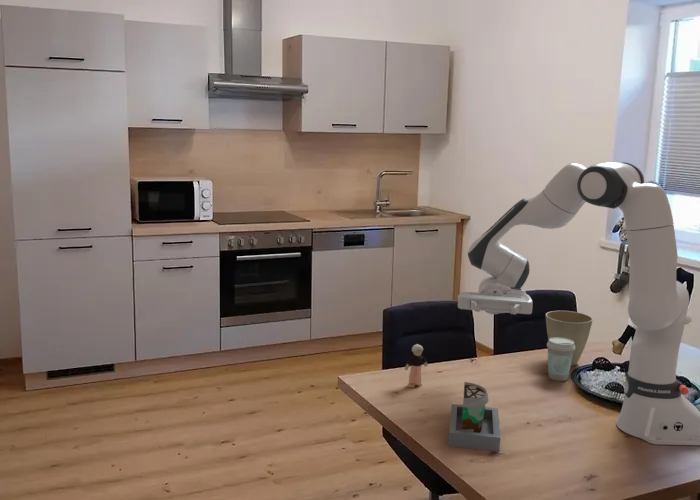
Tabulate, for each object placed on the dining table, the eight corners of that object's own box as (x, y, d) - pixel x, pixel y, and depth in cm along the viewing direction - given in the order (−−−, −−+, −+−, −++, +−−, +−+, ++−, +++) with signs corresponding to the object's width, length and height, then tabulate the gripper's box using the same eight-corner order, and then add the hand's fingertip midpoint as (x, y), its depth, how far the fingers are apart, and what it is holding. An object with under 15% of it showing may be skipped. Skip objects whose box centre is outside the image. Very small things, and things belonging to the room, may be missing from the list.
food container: (486, 440, 165) (489, 401, 163) (461, 437, 166) (463, 399, 164) (486, 420, 177) (488, 383, 175) (462, 417, 178) (464, 381, 176)
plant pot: (541, 353, 237) (545, 308, 234) (586, 358, 233) (591, 313, 231) (541, 366, 223) (545, 319, 220) (589, 372, 219) (594, 324, 216)
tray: (496, 420, 179) (497, 408, 179) (499, 451, 162) (500, 437, 161) (450, 416, 181) (451, 403, 181) (448, 446, 164) (449, 432, 163)
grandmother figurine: (411, 389, 199) (413, 348, 197) (402, 385, 202) (404, 344, 200) (429, 384, 204) (431, 343, 202) (420, 380, 207) (422, 340, 205)
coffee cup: (542, 379, 211) (545, 342, 209) (545, 371, 219) (548, 335, 217) (571, 384, 208) (574, 346, 206) (573, 375, 216) (577, 339, 214)
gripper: (458, 284, 197) (456, 295, 183) (530, 289, 193) (535, 301, 180) (456, 305, 198) (455, 318, 185) (529, 311, 195) (533, 324, 181)
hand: (495, 309), depth 182 cm, fingers open, 8 cm apart
